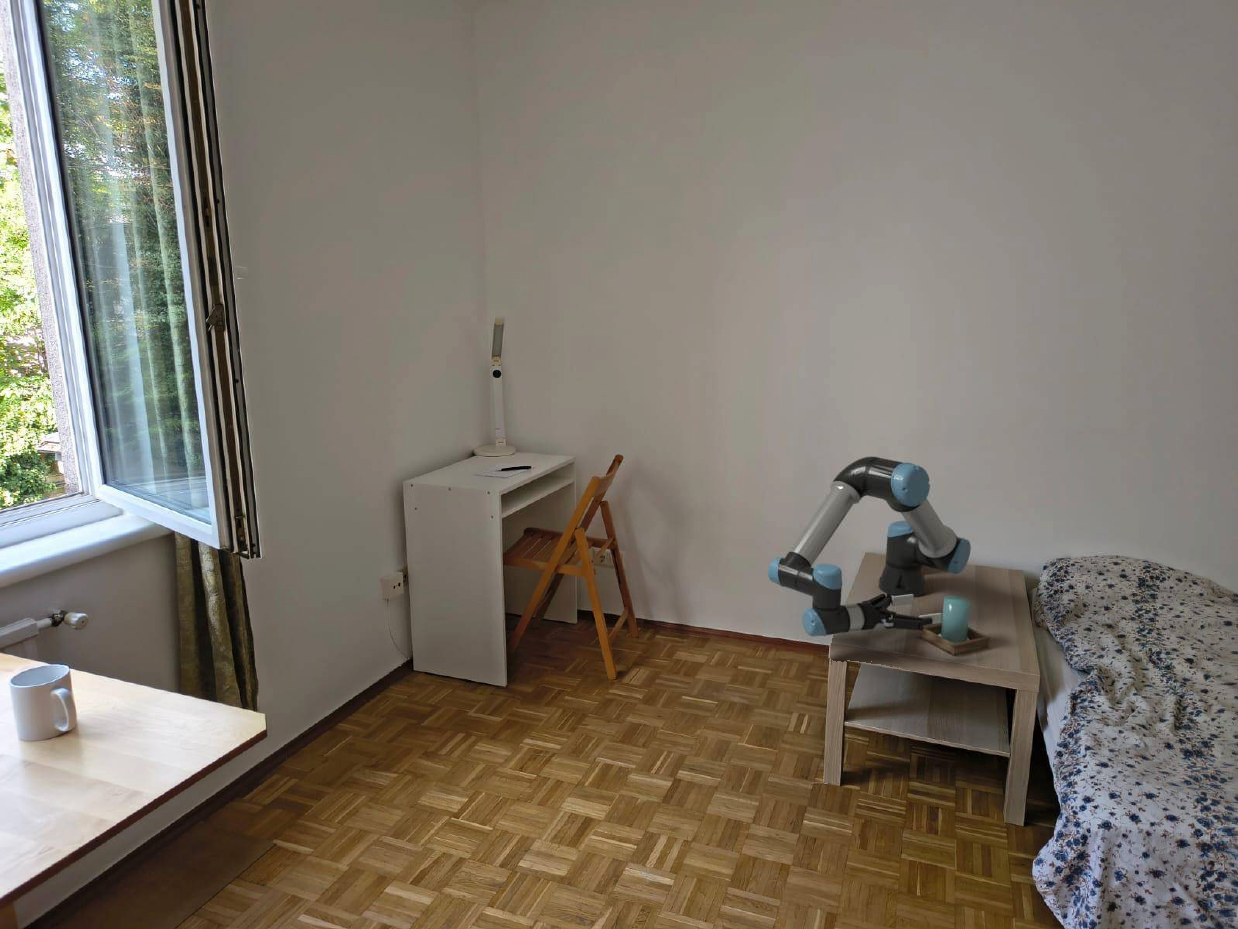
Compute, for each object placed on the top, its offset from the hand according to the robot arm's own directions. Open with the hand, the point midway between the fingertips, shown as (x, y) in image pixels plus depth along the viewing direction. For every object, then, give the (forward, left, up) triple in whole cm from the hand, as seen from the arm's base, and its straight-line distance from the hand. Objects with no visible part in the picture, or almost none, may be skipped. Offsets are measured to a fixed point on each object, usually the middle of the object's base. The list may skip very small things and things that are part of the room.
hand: (926, 608), depth 239 cm
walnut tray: (+2, +10, -12) cm, 15 cm away
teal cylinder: (+2, +10, -11) cm, 15 cm away
